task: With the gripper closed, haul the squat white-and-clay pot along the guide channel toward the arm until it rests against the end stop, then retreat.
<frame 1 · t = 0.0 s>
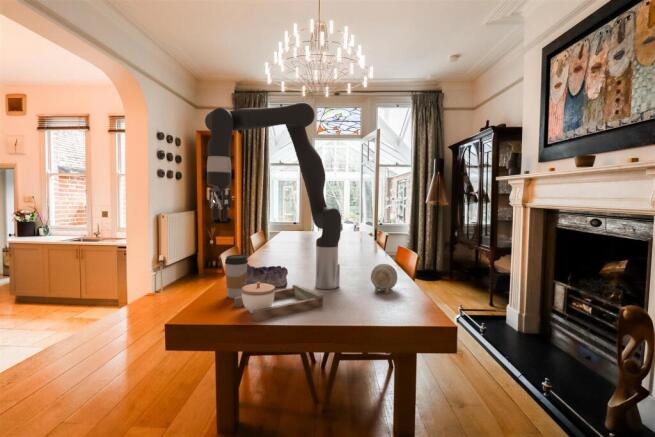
hand: (219, 220, 110), 29 cm above the table, fingers open, 8 cm apart
geode: (263, 286, 139), on the table
lidded jar: (258, 311, 109), on the table
coffee cup: (236, 296, 124), on the table
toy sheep: (384, 291, 134), on the table
channel: (280, 306, 113), on the table
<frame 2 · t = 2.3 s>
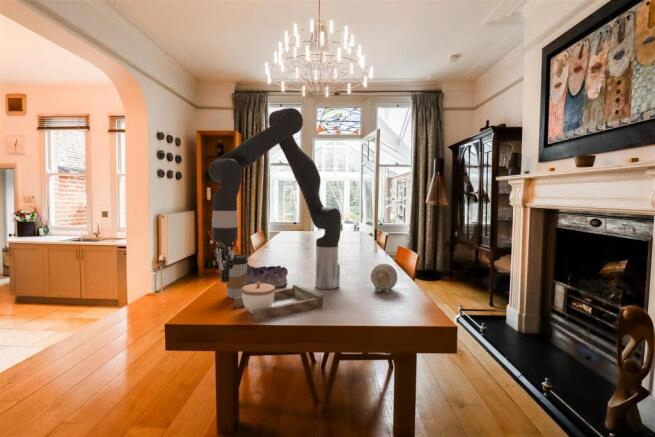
hand: (224, 281, 101), 11 cm above the table, fingers closed
nothing on the table moved.
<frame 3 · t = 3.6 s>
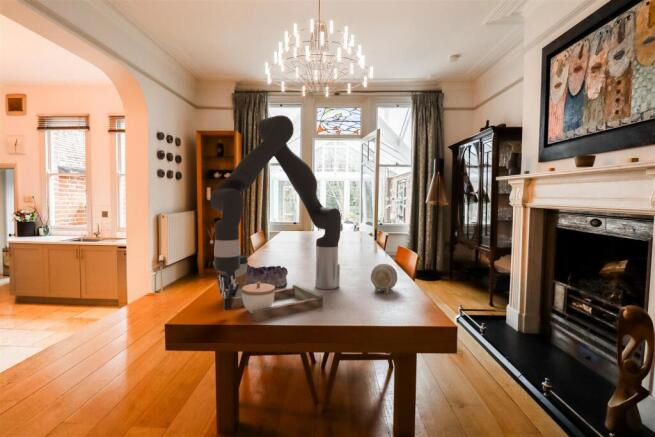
hand: (227, 309, 102), 2 cm above the table, fingers closed
nothing on the table moved.
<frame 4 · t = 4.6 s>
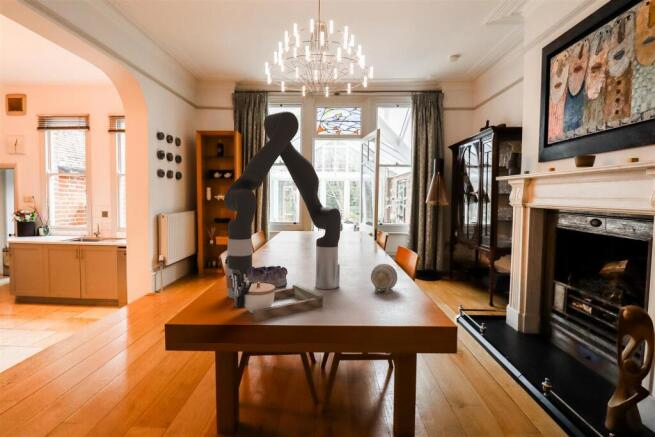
hand: (239, 306, 105), 2 cm above the table, fingers closed
lidded jar: (258, 311, 109), on the table, touching gripper
everything else where it was.
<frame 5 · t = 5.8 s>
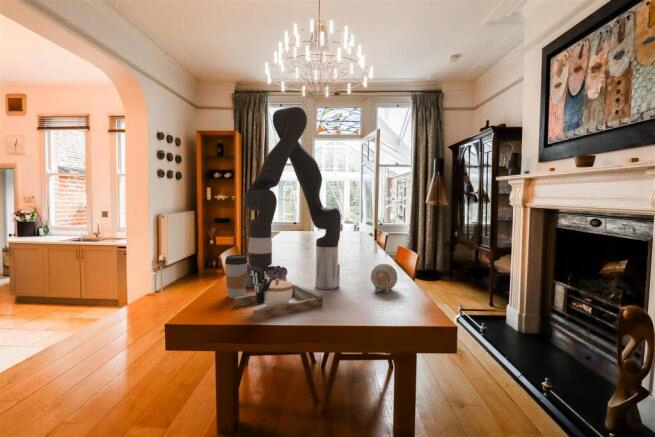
hand: (259, 302, 109), 2 cm above the table, fingers closed
lidded jar: (276, 307, 113), on the table, touching gripper
everything else where it was.
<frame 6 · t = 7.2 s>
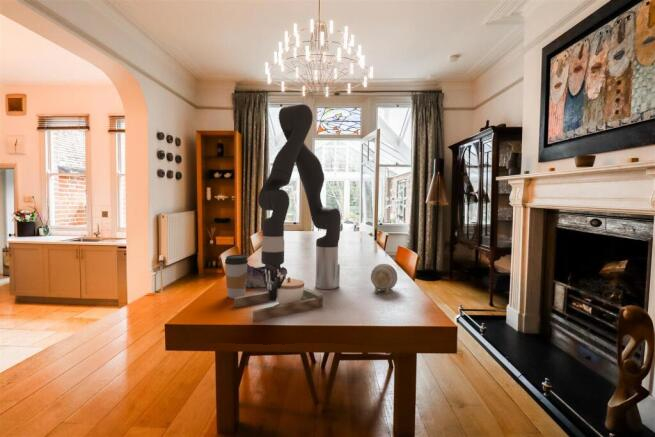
hand: (272, 300, 111), 3 cm above the table, fingers closed
lidded jar: (288, 304, 115), on the table, touching gripper
everything else where it was.
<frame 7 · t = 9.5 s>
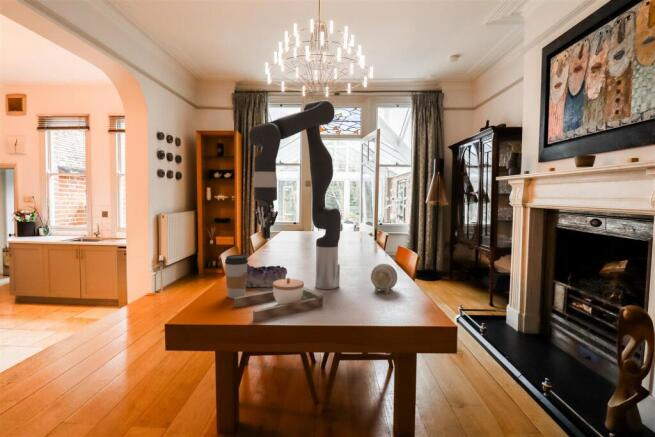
hand: (266, 238, 110), 24 cm above the table, fingers closed
lidded jar: (288, 305, 115), on the table
everything else where it was.
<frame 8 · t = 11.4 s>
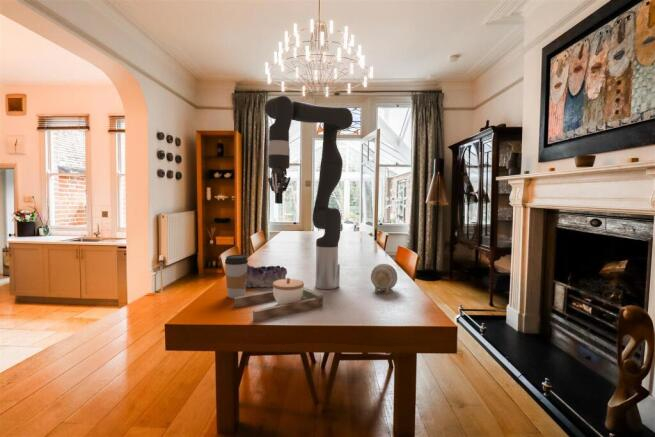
hand: (278, 203, 118), 35 cm above the table, fingers closed
nothing on the table moved.
at the end: lidded jar inside the target area (0.3 cm from its centre), on the table; lidded jar tilted 0°; lidded jar moved 11.2 cm from its start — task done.
